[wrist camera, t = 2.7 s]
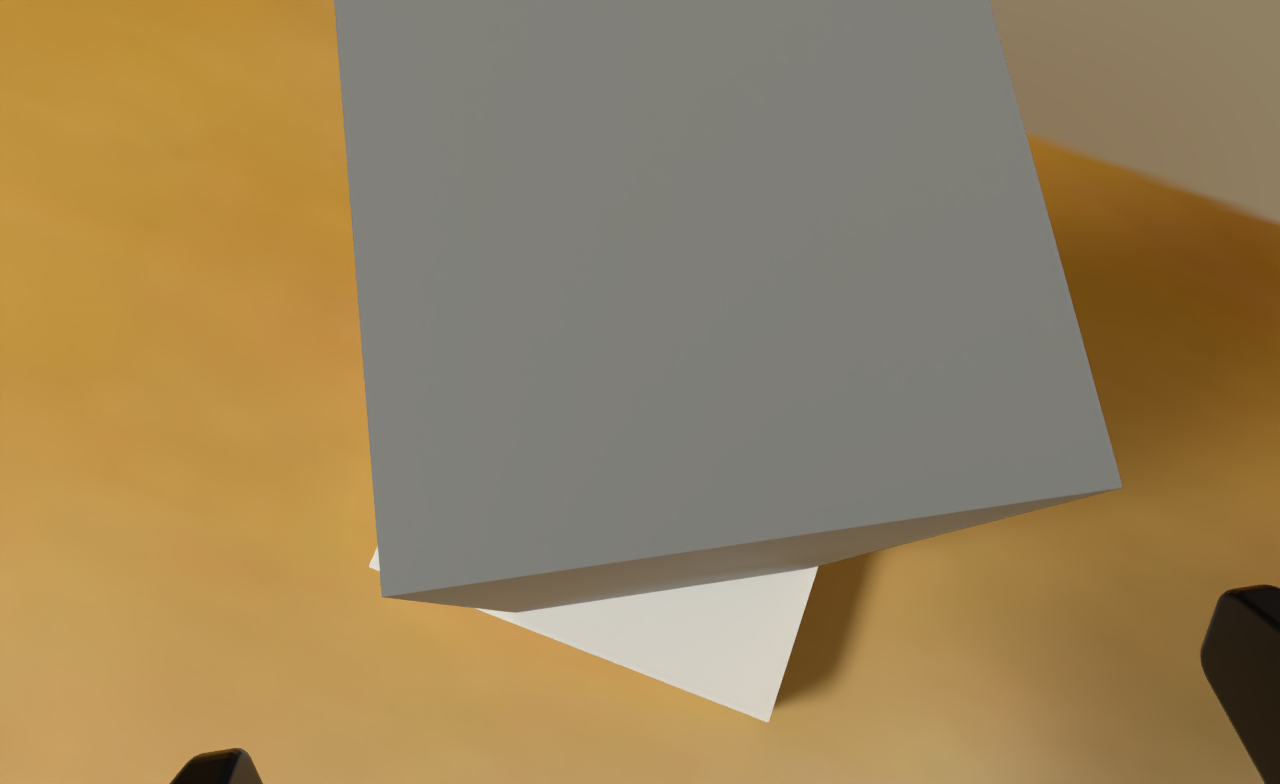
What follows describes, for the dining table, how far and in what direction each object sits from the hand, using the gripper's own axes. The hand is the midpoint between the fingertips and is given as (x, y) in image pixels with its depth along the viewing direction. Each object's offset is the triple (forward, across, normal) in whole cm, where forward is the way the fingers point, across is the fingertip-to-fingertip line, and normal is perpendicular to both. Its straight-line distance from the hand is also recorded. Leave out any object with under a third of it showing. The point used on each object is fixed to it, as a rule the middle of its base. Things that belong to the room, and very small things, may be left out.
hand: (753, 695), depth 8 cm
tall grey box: (+9, 0, +4) cm, 10 cm away
